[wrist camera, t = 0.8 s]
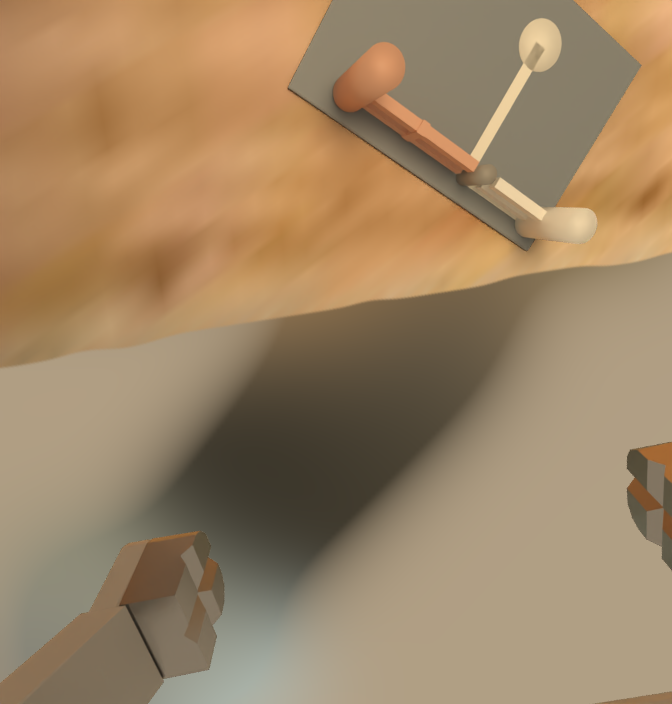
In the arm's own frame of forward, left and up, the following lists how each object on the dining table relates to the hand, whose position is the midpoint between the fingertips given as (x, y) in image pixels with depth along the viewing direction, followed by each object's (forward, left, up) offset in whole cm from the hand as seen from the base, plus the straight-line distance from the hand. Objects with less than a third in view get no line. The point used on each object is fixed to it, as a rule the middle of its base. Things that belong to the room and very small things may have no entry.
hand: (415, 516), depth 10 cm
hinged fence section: (-13, +13, -42) cm, 46 cm away
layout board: (-19, +20, -43) cm, 51 cm away
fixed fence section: (-8, +25, -42) cm, 50 cm away
